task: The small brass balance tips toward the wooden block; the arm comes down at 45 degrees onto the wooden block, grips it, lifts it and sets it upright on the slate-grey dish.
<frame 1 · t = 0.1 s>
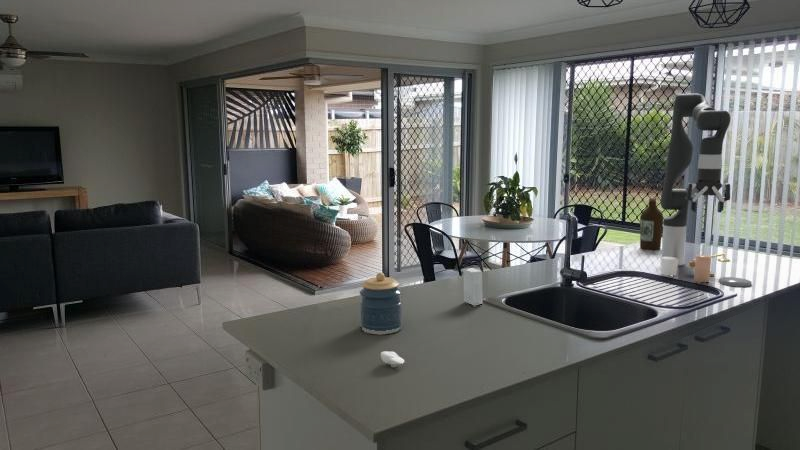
hand: (706, 212, 214), 29 cm above the worktop, tool pointing down, fingers open, 8 cm apart
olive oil: (649, 248, 297), on the worktop
shot glass: (668, 274, 243), on the worktop
balance: (707, 274, 241), on the worktop
dish: (734, 283, 228), on the worktop
skincare box: (472, 304, 206), on the worktop
canister: (381, 329, 182), on the worktop
wooden block: (701, 281, 231), on the worktop
dumpling: (392, 367, 152), on the worktop
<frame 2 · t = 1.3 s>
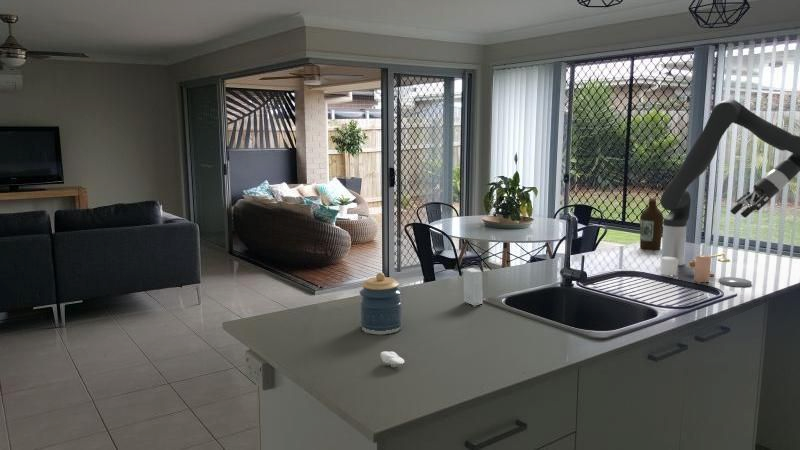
hand: (737, 214, 226), 26 cm above the worktop, tool tilted 45°, fingers open, 8 cm apart
nothing on the worktop moved.
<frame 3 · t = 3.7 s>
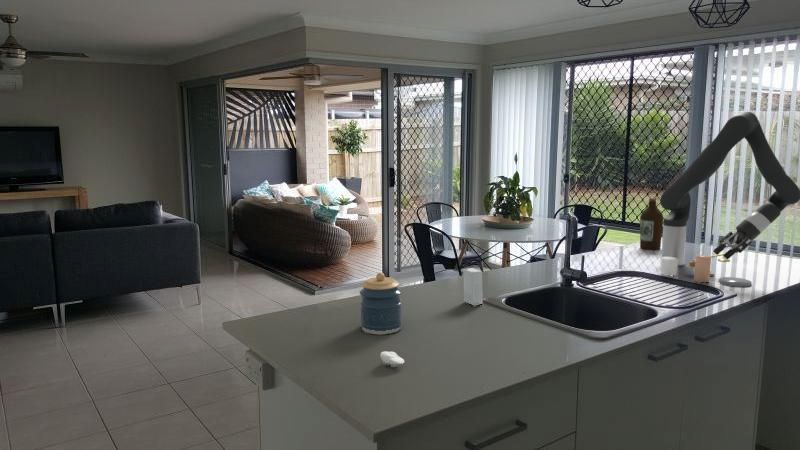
hand: (720, 255, 229), 10 cm above the worktop, tool tilted 45°, fingers open, 8 cm apart
nothing on the worktop moved.
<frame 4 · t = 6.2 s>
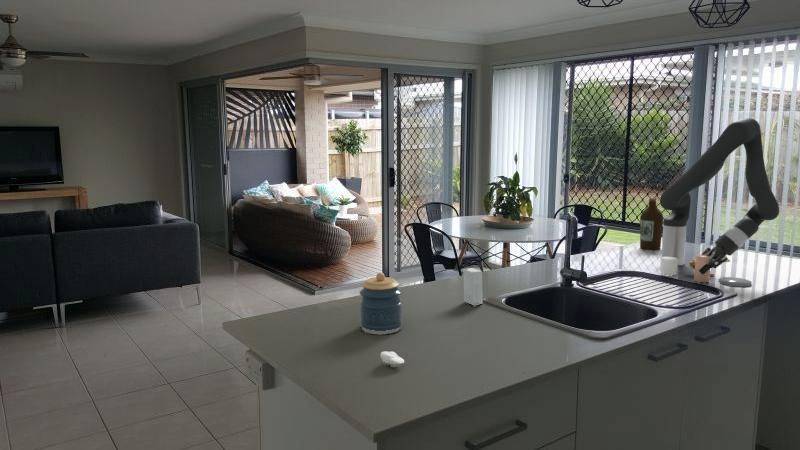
hand: (697, 270, 231), 4 cm above the worktop, tool tilted 45°, fingers closed on wooden block, 5 cm apart
wooden block: (701, 281, 231), on the worktop, touching gripper
everything else where it was.
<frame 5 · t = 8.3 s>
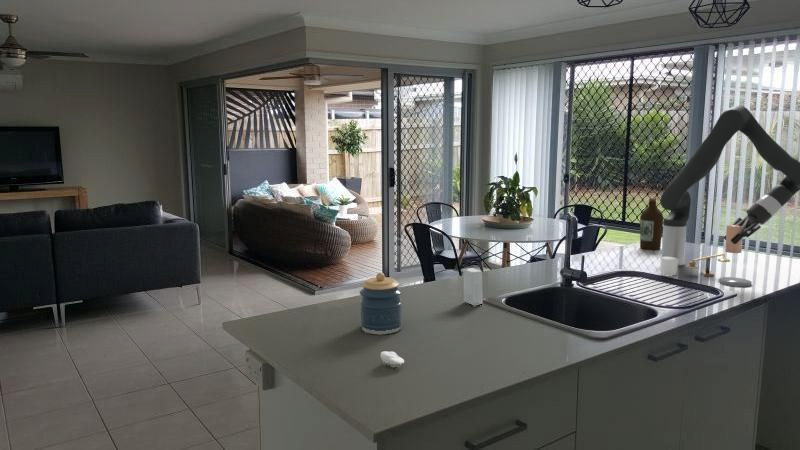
hand: (729, 240, 226), 17 cm above the worktop, tool tilted 45°, fingers closed on wooden block, 5 cm apart
wooden block: (733, 251, 226), point 12 cm above the worktop, touching gripper
everything else where it was.
when the fingers open (6 cm above the worktop, at t = 10.8 s): wooden block stays where it is, resting on dish.
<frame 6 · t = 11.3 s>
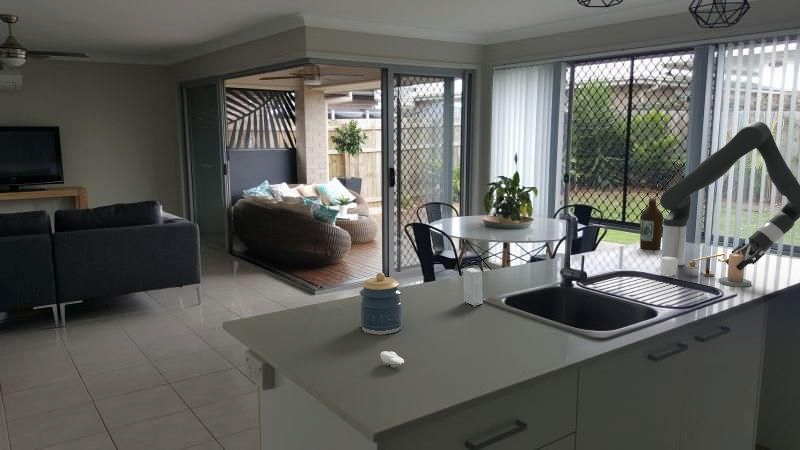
hand: (732, 266, 227), 7 cm above the worktop, tool tilted 45°, fingers open, 8 cm apart
wooden block: (735, 280, 228), point 1 cm above the worktop, touching dish
everything else where it was.
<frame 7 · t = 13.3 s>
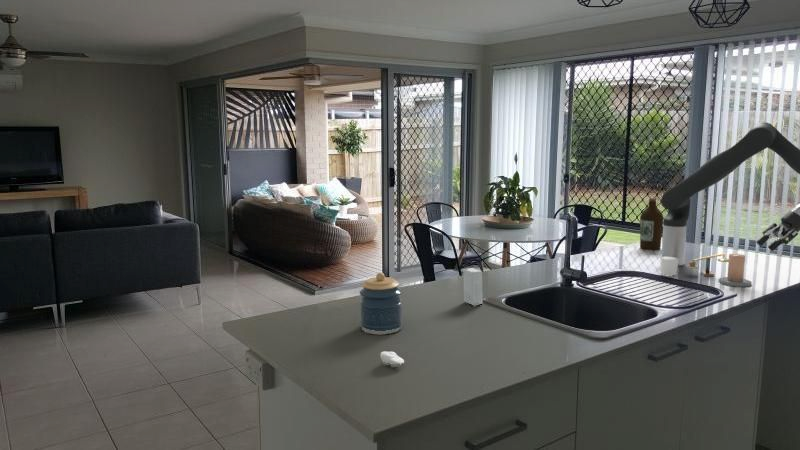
hand: (764, 246, 226), 14 cm above the worktop, tool tilted 45°, fingers open, 8 cm apart
nothing on the worktop moved.
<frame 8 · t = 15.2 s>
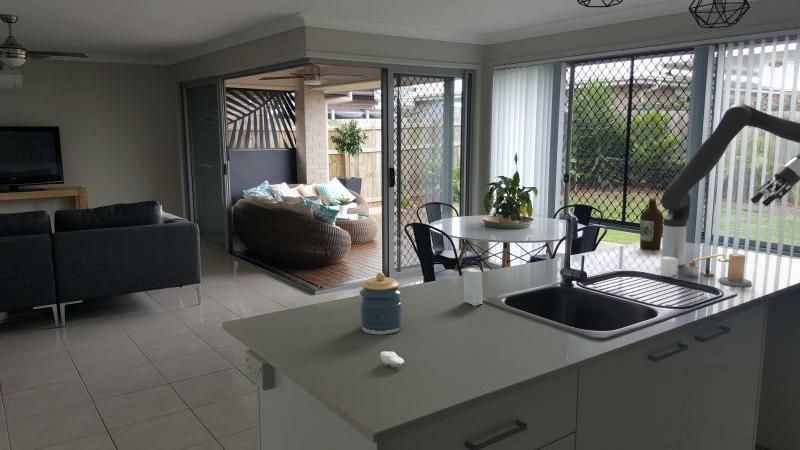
hand: (758, 203, 225), 31 cm above the worktop, tool tilted 45°, fingers open, 8 cm apart
nothing on the worktop moved.
at the end: wooden block 0.1 cm from the dish (horizontally); wooden block point 1.0 cm above the worktop; wooden block tilted 0° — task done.
